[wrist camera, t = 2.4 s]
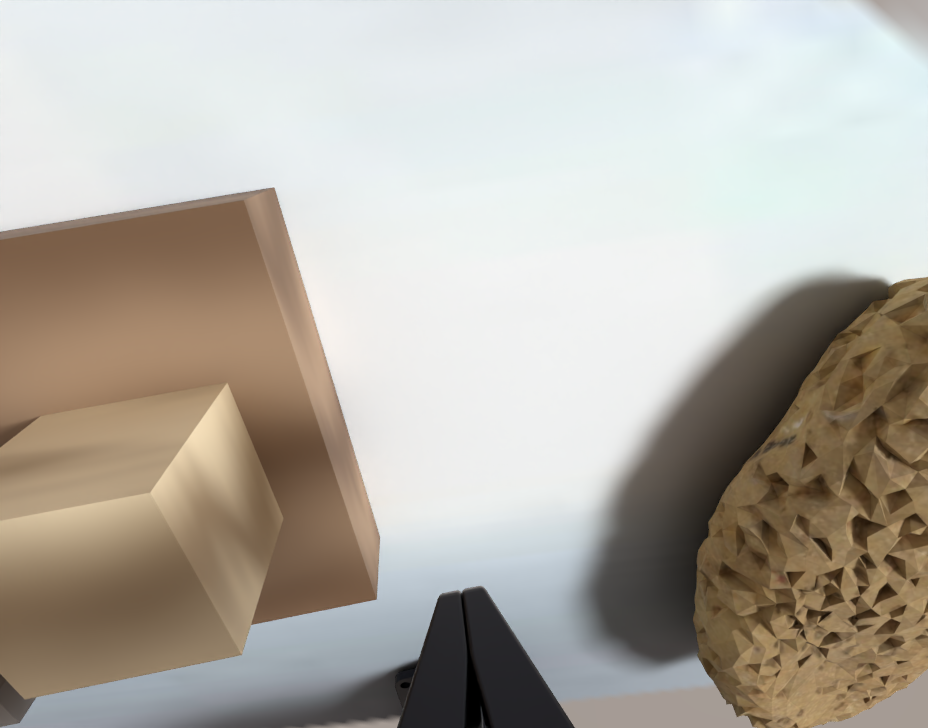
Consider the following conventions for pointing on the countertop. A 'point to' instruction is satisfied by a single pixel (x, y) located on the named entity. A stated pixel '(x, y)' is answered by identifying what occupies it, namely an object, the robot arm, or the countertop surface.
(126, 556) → the maple block
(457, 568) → the countertop surface
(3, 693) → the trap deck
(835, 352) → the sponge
